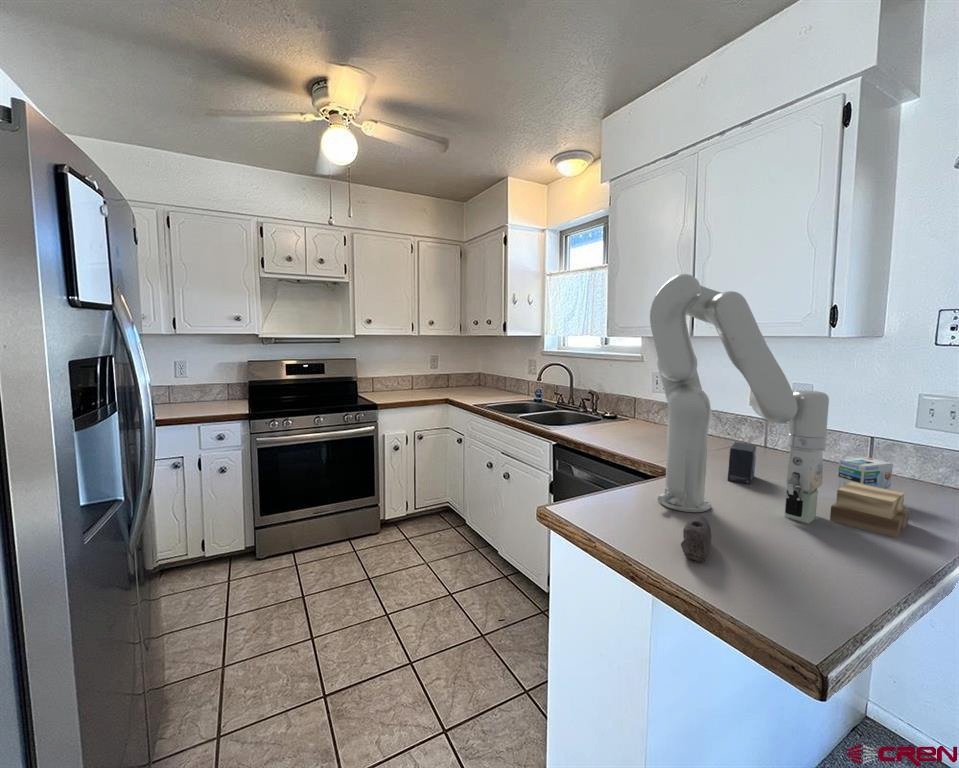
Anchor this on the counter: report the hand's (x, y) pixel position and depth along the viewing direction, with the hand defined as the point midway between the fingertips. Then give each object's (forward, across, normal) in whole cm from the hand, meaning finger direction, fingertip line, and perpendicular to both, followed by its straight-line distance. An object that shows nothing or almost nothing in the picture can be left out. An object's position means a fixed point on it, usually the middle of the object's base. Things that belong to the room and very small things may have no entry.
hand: (800, 510), depth 109 cm
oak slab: (-2, +10, -11) cm, 15 cm away
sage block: (+2, 0, 0) cm, 2 cm away
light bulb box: (+2, +28, -6) cm, 29 cm away
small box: (+2, +21, +22) cm, 30 cm away
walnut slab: (+2, +10, -11) cm, 15 cm away
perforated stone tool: (+2, -37, +7) cm, 38 cm away
